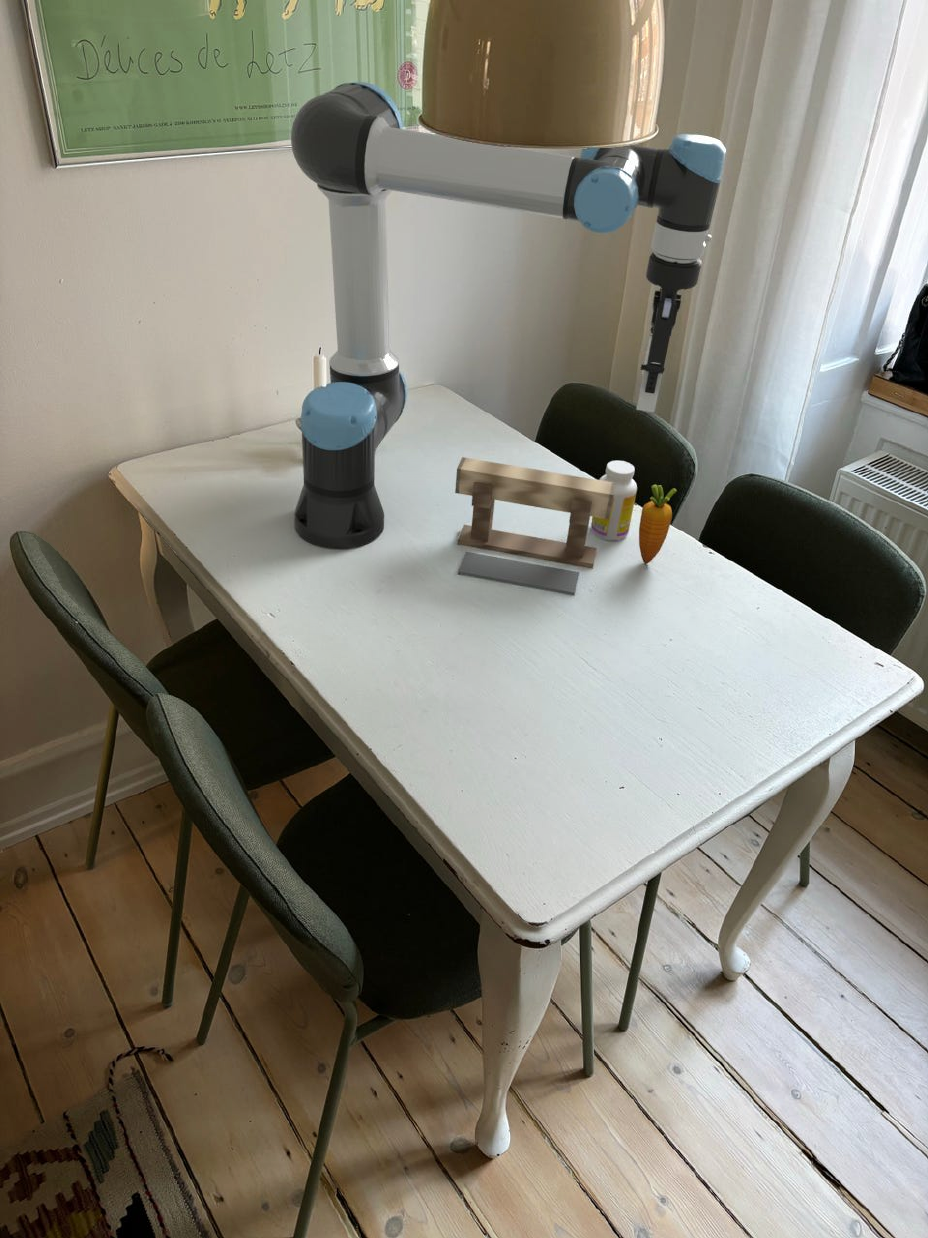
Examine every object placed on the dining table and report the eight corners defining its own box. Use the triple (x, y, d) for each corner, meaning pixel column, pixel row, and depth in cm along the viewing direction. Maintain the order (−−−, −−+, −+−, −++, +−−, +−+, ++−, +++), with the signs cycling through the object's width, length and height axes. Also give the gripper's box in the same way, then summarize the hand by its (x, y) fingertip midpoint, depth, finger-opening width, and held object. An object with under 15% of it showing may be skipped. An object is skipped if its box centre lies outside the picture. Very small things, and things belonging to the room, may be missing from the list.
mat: (457, 574, 157) (458, 571, 156) (465, 554, 162) (465, 551, 161) (574, 595, 154) (574, 592, 154) (578, 575, 159) (579, 571, 159)
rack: (456, 547, 163) (461, 481, 155) (464, 526, 168) (470, 462, 161) (592, 571, 160) (604, 506, 153) (596, 550, 165) (608, 485, 158)
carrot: (664, 560, 164) (682, 482, 155) (655, 575, 161) (674, 496, 152) (636, 552, 166) (652, 474, 157) (627, 566, 162) (643, 487, 153)
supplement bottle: (627, 524, 173) (640, 459, 165) (628, 544, 168) (642, 478, 160) (589, 519, 173) (601, 455, 165) (589, 539, 168) (601, 474, 160)
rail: (455, 492, 159) (457, 468, 156) (460, 481, 162) (462, 457, 159) (608, 519, 155) (613, 494, 153) (611, 507, 158) (615, 482, 156)
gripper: (701, 285, 130) (668, 430, 143) (703, 234, 150) (674, 365, 163) (645, 277, 131) (618, 421, 144) (654, 227, 151) (629, 358, 163)
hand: (647, 392), depth 153 cm, fingers open, 13 cm apart
